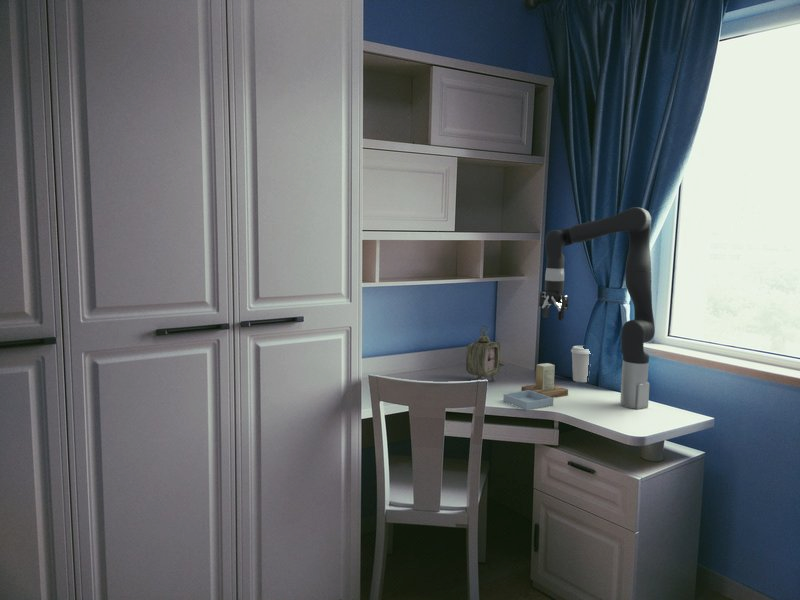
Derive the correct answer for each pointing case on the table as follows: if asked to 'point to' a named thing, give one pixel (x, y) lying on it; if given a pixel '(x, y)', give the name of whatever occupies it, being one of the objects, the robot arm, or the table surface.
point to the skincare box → (545, 376)
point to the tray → (528, 400)
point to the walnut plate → (547, 391)
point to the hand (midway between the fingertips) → (552, 318)
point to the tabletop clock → (483, 357)
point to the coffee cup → (580, 363)
